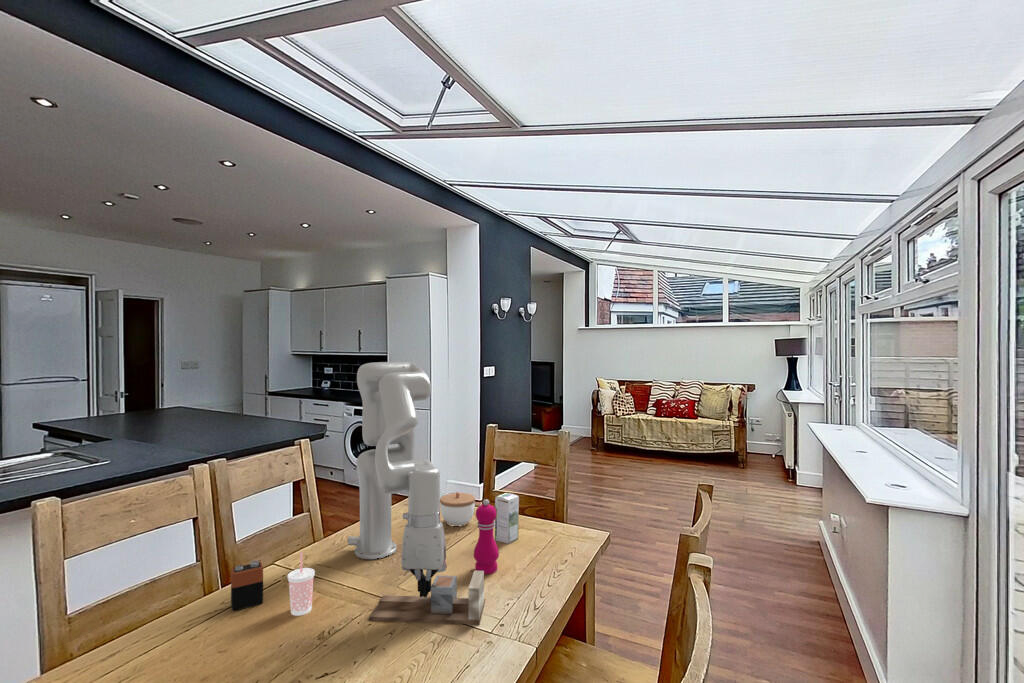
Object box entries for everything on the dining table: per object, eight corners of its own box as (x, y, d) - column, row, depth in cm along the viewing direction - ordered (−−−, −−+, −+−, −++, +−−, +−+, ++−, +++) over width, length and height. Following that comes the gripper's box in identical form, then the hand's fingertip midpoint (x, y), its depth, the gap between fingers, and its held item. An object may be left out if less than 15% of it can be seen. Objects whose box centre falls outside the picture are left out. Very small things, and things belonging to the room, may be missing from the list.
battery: (263, 604, 124) (263, 563, 124) (232, 612, 120) (232, 570, 120) (261, 596, 127) (261, 557, 128) (230, 604, 124) (230, 563, 124)
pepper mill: (495, 576, 138) (495, 504, 138) (470, 573, 140) (470, 502, 140) (501, 565, 145) (501, 496, 145) (477, 562, 147) (477, 494, 147)
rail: (369, 620, 116) (369, 585, 116) (383, 598, 126) (383, 566, 126) (479, 624, 114) (479, 589, 114) (485, 602, 124) (485, 569, 124)
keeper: (431, 613, 117) (431, 587, 117) (436, 600, 123) (436, 575, 123) (452, 613, 117) (451, 587, 117) (456, 600, 123) (456, 576, 123)
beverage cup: (287, 607, 122) (287, 550, 122) (314, 601, 125) (314, 545, 125) (287, 619, 117) (287, 559, 117) (315, 614, 119) (315, 555, 119)
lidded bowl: (435, 528, 174) (435, 497, 174) (446, 516, 187) (446, 486, 187) (470, 530, 172) (470, 498, 172) (478, 518, 185) (478, 488, 185)
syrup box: (504, 535, 168) (504, 492, 168) (519, 539, 165) (519, 495, 165) (494, 540, 163) (494, 496, 164) (509, 544, 160) (508, 499, 160)
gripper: (389, 523, 117) (389, 601, 117) (451, 524, 116) (451, 603, 116) (398, 512, 125) (399, 585, 125) (457, 514, 124) (457, 588, 124)
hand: (424, 594), depth 120 cm, fingers closed
